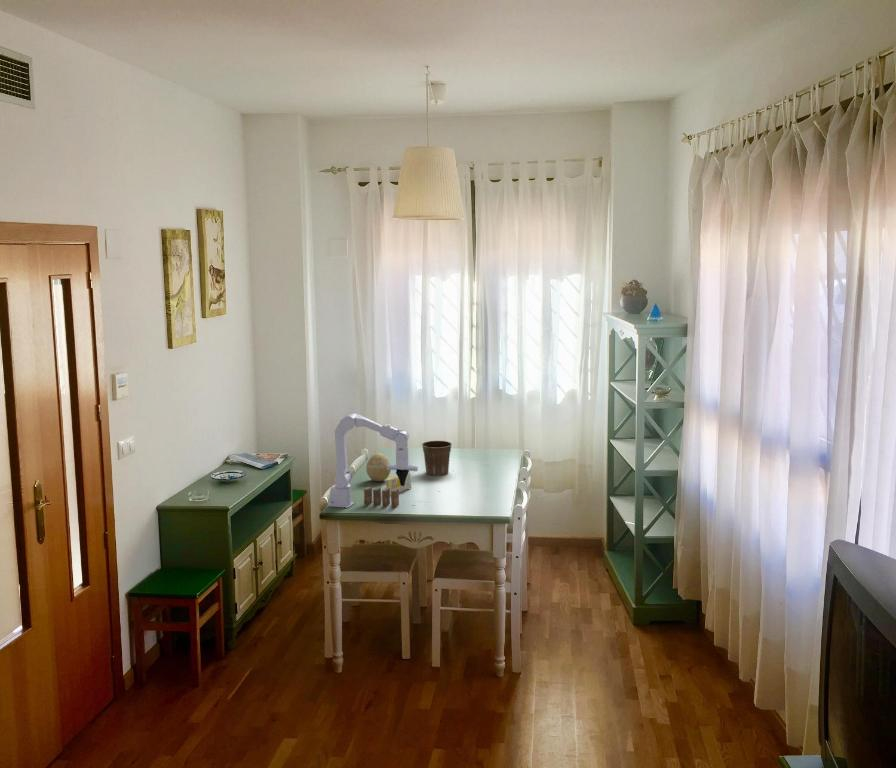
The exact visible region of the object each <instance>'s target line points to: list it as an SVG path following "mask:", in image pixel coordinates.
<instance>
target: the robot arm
mask: <svg viewBox="0 0 896 768" xmlns="http://www.w3.org/2000/svg"><path fill="white" fill-rule="evenodd" d="M354 427H355V429H356V428H360V427H365V428H367V429H371V430H373V431H375V432H378V433H379V434H380V436H381V437H383V438H386V439H388V440H390V441H394V442H395V464H390V465H388V466H387V470H391V471H395V474H396V476H398V478H399V481H400V484H401V486H404V485H405V481H406V477H407V475H408V473H410V471H411V472H418V471H419V467H418V466H416V465H415V466H414V465H410V464H409V446H408V445H409V443H408V440H409V439H410V435H409V433H408V432H407V430H404V429H401V428H395V427H393V426H391V424H389V423H388V424H386V423H385V424H384V425H382V424H379V423H377V421H373V420H371V419H369V418H367V417H364V416H363V415H361V414H357V413H355V412H350V413H348V414H346V416H344V417H343V418H342V419H340V420H339V423H338V425H337V426H336V428H335V429H334V441H335V442H334V444H335V460H336V462H335V463H336V470H335V477H334V479H333V484H334V486H331V487H330V490H329V504H330V505H329V507H333V508H344V507H345V508H348V507H349V508H350V507H351V506H352V505H354V504H355V502H354V501H352V492H351V490H352V489H351V487H352V486H351V483H350V482H351V481H352V474H351V472H350V469H349V466H348V452H347V451H348V449H347V433H348V432H349V431H350V430H352V429H354Z"/></svg>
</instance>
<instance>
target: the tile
mask: <svg viewBox="0 0 896 768" xmlns="http://www.w3.org/2000/svg"><path fill="white" fill-rule="evenodd" d="M372 505H373V507H374V506H378V505H379V506H380V505H382V487H381V486H380V487H379V486H376V487H375V488H374V489H372ZM379 506H378V507H379Z"/></svg>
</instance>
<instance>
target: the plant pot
mask: <svg viewBox="0 0 896 768" xmlns="http://www.w3.org/2000/svg"><path fill="white" fill-rule="evenodd" d="M452 446H453V444H452V442H450V441H445V440H430V441H425V442H423V443H421V447H422V451H423V454H424V455H423V456H424V467H425V474H427V475H429V476H433V475H435V477H436V476H438V477H439V476H443V475H447V474H449V471H450V469H449V468H450V458H451V457H450V455H451V451H452Z"/></svg>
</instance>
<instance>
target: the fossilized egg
mask: <svg viewBox="0 0 896 768" xmlns="http://www.w3.org/2000/svg"><path fill="white" fill-rule="evenodd" d="M388 465H391V463H390V461H389V459H388V458H387V456H386V455H385V454H384V453H381V452H376V453H374V454H372V455H371V456H370V458H369V459H368V460H367V463H366V466H365V467H366V468H365V469H366V474H367V476H368V477H369V479H370V480H372V481H374V482H383V481H386V479H388V477H389V476H390V474H391V471H392V470H387V466H388Z"/></svg>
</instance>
